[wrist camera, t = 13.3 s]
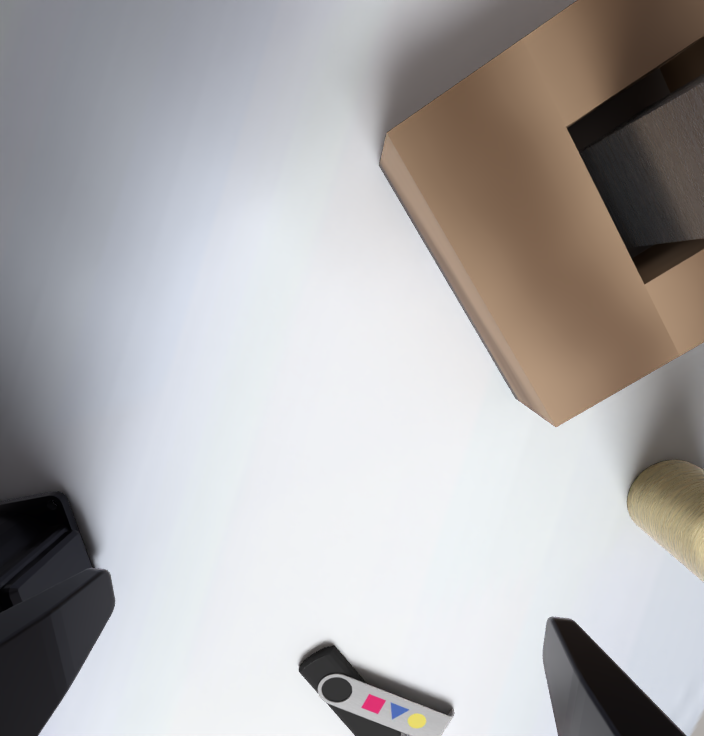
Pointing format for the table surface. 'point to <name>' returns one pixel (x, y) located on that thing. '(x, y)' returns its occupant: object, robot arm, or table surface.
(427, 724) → the usb flash drive
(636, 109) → the bore block
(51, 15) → the table surface
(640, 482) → the brass pin
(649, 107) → the grey rectangular block
